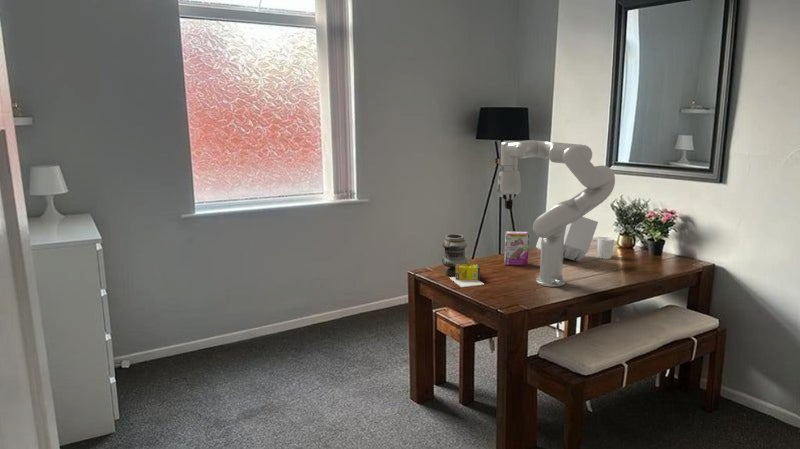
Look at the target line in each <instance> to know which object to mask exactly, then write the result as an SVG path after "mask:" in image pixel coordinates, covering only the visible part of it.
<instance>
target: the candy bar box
mask: <svg viewBox="0 0 800 449" xmlns="http://www.w3.org/2000/svg"><path fill="white" fill-rule="evenodd" d="M529 238H530V234H529V231H505V239H504V240H505V241H504V265H505V266H525V267H527V266H529V265H528V264H529V263H528V260H529V245H530V244H529V242H530V239H529Z"/></svg>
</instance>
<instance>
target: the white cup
mask: <svg viewBox="0 0 800 449" xmlns="http://www.w3.org/2000/svg"><path fill="white" fill-rule="evenodd" d="M614 241H615V238H613V237H611V236H610V237H608V236H600V237H599V236H598V237H597V250H596V251H597V258H598V259H602V258H603V260H610V259H612V256H613V249H614V243H615V242H614Z"/></svg>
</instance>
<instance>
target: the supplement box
mask: <svg viewBox="0 0 800 449" xmlns="http://www.w3.org/2000/svg"><path fill="white" fill-rule="evenodd" d="M480 268H481V267H480V263H479V264H478V263H467V264H456V275H455V277H456V280H479V281H480V279H481V278H480V277H481V276H480V275H481V271H480V270H481V269H480Z"/></svg>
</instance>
